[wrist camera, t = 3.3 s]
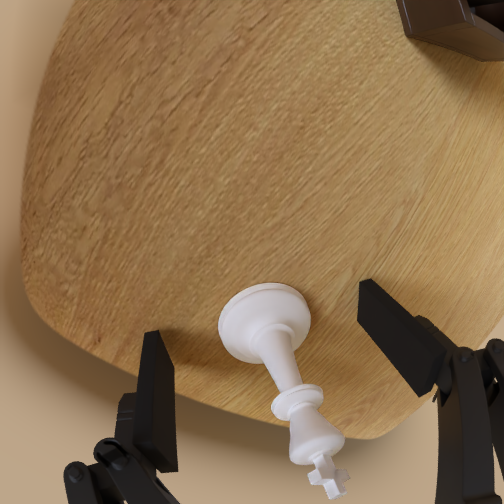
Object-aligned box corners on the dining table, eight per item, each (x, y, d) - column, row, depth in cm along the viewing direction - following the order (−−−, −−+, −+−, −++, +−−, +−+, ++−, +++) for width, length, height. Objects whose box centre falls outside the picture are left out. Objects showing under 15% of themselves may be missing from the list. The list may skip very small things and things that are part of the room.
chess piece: (261, 263, 14) (364, 452, 5) (324, 310, 16) (426, 454, 7) (199, 333, 15) (226, 522, 6) (266, 367, 17) (323, 517, 8)
